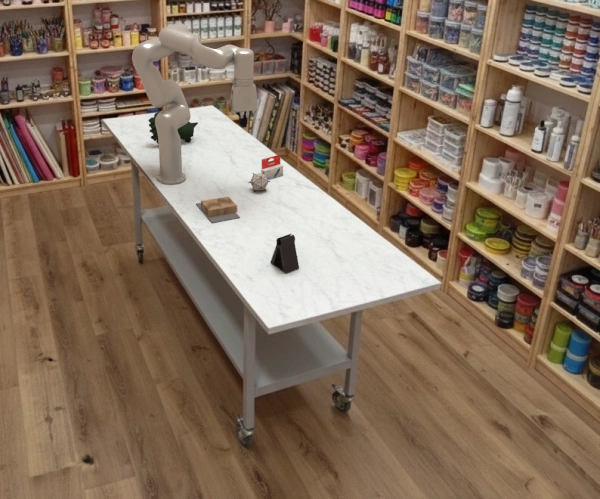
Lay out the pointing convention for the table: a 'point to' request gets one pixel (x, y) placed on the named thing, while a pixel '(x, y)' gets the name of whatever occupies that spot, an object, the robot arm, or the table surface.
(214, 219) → the mat
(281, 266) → the phone stand
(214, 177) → the table surface
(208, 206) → the walnut slab
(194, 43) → the robot arm
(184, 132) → the toy figurine
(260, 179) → the game die
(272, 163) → the ink cartridge box
